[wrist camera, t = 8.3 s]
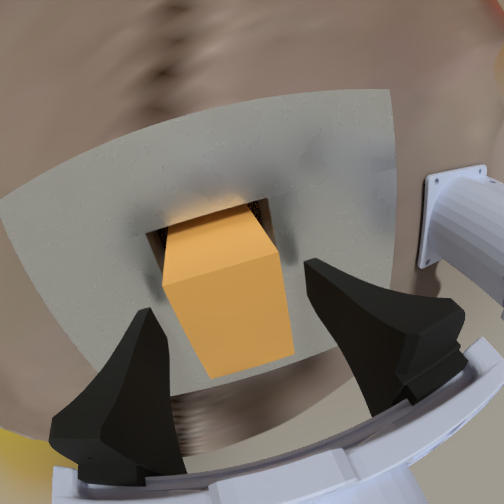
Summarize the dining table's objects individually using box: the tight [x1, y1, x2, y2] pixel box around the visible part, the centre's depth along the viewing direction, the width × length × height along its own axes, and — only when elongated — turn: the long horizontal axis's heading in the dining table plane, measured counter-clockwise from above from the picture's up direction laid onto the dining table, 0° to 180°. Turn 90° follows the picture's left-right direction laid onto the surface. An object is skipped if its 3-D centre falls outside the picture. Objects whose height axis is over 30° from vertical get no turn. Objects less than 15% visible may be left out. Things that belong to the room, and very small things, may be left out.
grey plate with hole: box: [0, 89, 396, 396], centre depth 14 cm, size 20×16×2 cm
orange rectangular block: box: [162, 203, 295, 379], centre depth 13 cm, size 4×6×6 cm
